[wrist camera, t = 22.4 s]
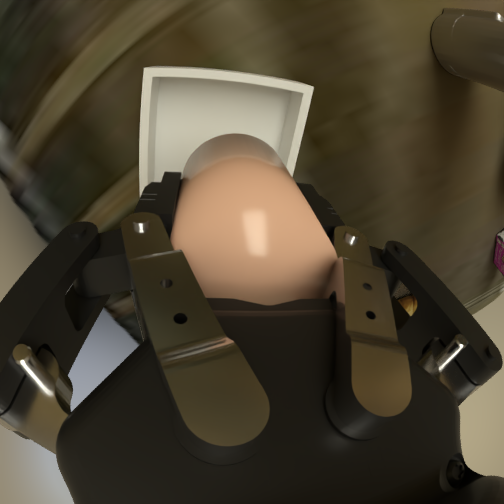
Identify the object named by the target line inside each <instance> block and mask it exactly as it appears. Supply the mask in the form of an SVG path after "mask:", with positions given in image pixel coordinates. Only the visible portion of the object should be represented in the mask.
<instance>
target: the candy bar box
mask: <svg viewBox="0 0 504 504" xmlns="http://www.w3.org/2000/svg"><path fill="white" fill-rule="evenodd" d="M493 263H494V264H495V265H496V267H497V268H498V269H499V270H500V272H501V273H502V274H503V275H504V229H503V230H502V231H500V232H499V233H498V234H497V236H496V247H495V255H494V262H493Z"/></svg>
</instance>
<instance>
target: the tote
mask: <svg viewBox="0 0 504 504" xmlns="http://www.w3.org/2000/svg"><path fill="white" fill-rule="evenodd" d="M313 89H314V87H313V86H310V85H307V84H304V83H301V82H297V81H292V80H288V79H283V78H277V77H272V76H266V75H260V74H254V73H247V72H239V71H231V70H222V69H211V68H197V67H174V66H154V67H147V68H144V75H143V86H142V99H141V116H140V146H139V180H140V197H141V195H142V192H143V190H144V187H145V186H147V185H148V184H150V183H151V182H161V180H162V177H163V175H164V172H165V171H167V172H181V173H183V169H184V166H185V164H186V162H187V160H188V158H189V157H190V155H191V154H192V153H193V152H194V151H195V150H196V149H197V148H198V147H199V146H200V145H201V144H203V143H204V142H206V141H208V140H210V139H212V138H214V137H217V136H220V135H224V134H232V133H239V134H247V135H251V136H254V137H256V138H259V139H261V140H263V141H264V142H266V143H267V144H268V145H269V146H271V147H272V148H273V149H274V150H275V152H276V153H277V154H278V156H279V157H280V159H281V160H282V162H283V163H284V165H285V167H286V168H287V170H288V171H289V173H290V174H291V176H293V172H294V168H295V164H296V160H297V156H298V152H299V147H300V143H301V139H302V135H303V131H304V127H305V123H306V118H307V114H308V110H309V106H310V101H311V97H312V93H313Z"/></svg>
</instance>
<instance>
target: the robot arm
mask: <svg viewBox="0 0 504 504" xmlns="http://www.w3.org/2000/svg"><path fill="white" fill-rule="evenodd" d="M431 40H432V46H433V49H434V53H435V55H436V57H437V59H438V61H439V62H440V64H441V65H442V66H443V68H444V69H445V70H447V71H448V72H449V73H451V74H453V75H456V76H459V77H461V78H465V79H469V80H472V81H475V82H478V83H481V84H484V85H486V86H489V87H492V88H494V89H497V90H499V91H502V92H504V18H503V17H502V16H501V15H500V14H499V13H497V12H491V11H482V10H471V9H454V8H444V11H443V14H442V15H440V16H439V17H437V18H436V20H435V21H434V23H433V26H432V31H431ZM181 177H182V173H181V172H167V171H165V172H164V175H163V177H162V180H161V182H151V183H150V184H148V185H147V186H145V187H144V190H143V192H142V195H141V197H140V200H139V202H138V204H137V206H136V209H135V211H134V214H131V215H129V216H127V217H125V218H124V219H123V220H122V222H121V228H120V229H117V230H114V231H109V232H104V233H98V228H97V226H96V225H95V224H93V223H91V222H76V223H73V224H71V225H69V226H67V227H65V228H64V229H63V230H62V231H61V232H60V233H59V234H58V235H57V236H56V237H55V238H54V239H53V240H52V241H51V242H50V244H49V245H48V246H47V247H46V248H45V249H44V250H43V251H42V252H41V253H40V254H39V256H38V257H37V258H36V259H35V260H34V261H33V262H32V264H31V265H30V266H29V267H28V268H27V270H26V271H25V272H24V273H23V274H22V276H21V277H20V278H19V279H18V281H17V282H16V283H15V284H14V285H13V287H12V288H11V289H10V291H9V292H8V293H7V294H6V296H5V297H4V298H3V300H2V301H1V302H0V424H1V425H2V426H4V427H5V428H7V429H9V430H12V431H13V432H15V433H16V434H18V435H19V436H21V437H23V438H25V439H31V440H33V441H34V442H36V443H38V444H39V445H41V446H42V447H44V448H46V449H47V450H49V451H51V452H53V453H54V454H56V458H57V463H58V467H59V469H60V472H61V474H62V476H63V478H64V481H65V482H66V485H67V487H68V489H69V491H70V494H71V496H72V498H73V501H74V504H504V478H502V477H498V476H483V475H480V474H478V473H476V472H474V471H472V470H471V469H470V468H468V466H467V465H466V464H465V461H464V458H463V455H462V450H461V441H460V412H459V408H458V406H459V405H460V404H461V403H462V402H463V401H464V400H465V399H466V398H467V397H468V396H469V395H471V394H472V393H473V392H474V391H476V390H477V389H478V388H479V387H481V386H482V385H483V384H484V383H485V382H487V381H488V380H489V379H490V378H491V377H492V376H494V375H495V374H496V373H497V372H498V371H499V370H500V369H501V368H502V356H501V354H500V352H499V350H498V348H497V347H496V345H495V344H494V343H493V341H492V340H491V339H490V337H489V336H488V335H487V334H486V332H485V331H484V330H483V329H482V328H481V326H480V325H479V324H478V322H477V321H476V320H475V319H474V318H473V316H472V315H471V314H470V313H469V312H468V310H467V309H466V308H465V307H464V306H463V305H462V303H461V302H460V301H459V300H458V299H457V298H456V297H455V295H454V294H453V293H452V292H451V291H450V290H449V289H448V288H447V287H446V286H445V284H444V283H443V282H442V281H441V280H440V279H439V278H438V277H437V276H436V275H435V274H434V273H433V272H432V271H431V270H430V269H429V268H428V267H427V266H426V265H425V263H424V262H423V261H422V260H421V259H420V258H419V257H418V256H417V255H416V254H415V253H413V252H412V251H411V250H410V249H409V248H408V247H407V246H405V245H404V244H402V243H400V242H397V241H388V242H387V243H386V245H385V247H384V249H383V250H381V249H378V248H375V247H371V246H369V244H368V240H367V238H366V237H365V236H364V235H363V234H362V233H361V232H360V231H358V230H356V229H354V228H351V227H348V226H345V225H344V223H343V222H342V220H341V219H340V217H339V216H338V215H337V213H336V211H335V210H334V209H333V207H332V206H331V204H330V203H329V202H328V201H327V200H326V199H324V198H323V197H322V196H319V194H318V193H317V192H316V190H315V189H314V187H313V186H312V185H311V184H304V183H296V184H297V186H298V187H299V189H300V191H301V192H302V194H303V195H304V197H305V199H306V200H307V202H308V204H309V205H310V207H311V209H312V210H313V212H314V214H315V215H316V217H317V219H318V221H319V222H320V224H321V226H322V228H323V229H324V231H325V233H326V235H327V236H328V238H329V240H330V242H331V243H332V245H333V247H334V249H335V251H336V254H337V257H338V260H335V263H334V265H333V267H332V270H331V272H330V277H329V281H328V284H327V286H326V288H325V291H324V293H323V295H322V297H321V299H298V300H293V301H289V302H285V303H280V304H276V305H262V304H258V303H253V302H248V301H243V300H238V299H234V298H206V297H205V295H204V293H203V291H202V289H201V287H200V285H199V283H198V281H197V279H196V277H195V275H194V273H193V271H192V269H191V267H190V265H189V263H188V261H187V259H186V257H185V255H184V253H183V251H182V250H181V249H178V250H174V248H173V246H172V243H171V241H170V236H171V232H172V227H173V221H174V216H175V210H176V205H177V199H178V194H179V189H180V184H181ZM72 283H73V285H72ZM402 283H403V284H404V285H405V286H406V287H407V288H408V290H409V291H410V292H411V293H412V294H413V295H414V296H415V298H416V300H417V308H416V310H415V312H414V313H413V314H412V316H410V315H409V314H408V312H407V311H406V310H405V309H404V307H403V306H402V305H401V304H400V303H399V301H398V300H397V299H396V298H395V297H394V295H395V293H396V292H397V290H398V288H399V287H400V285H401V284H402ZM71 285H72V287H71V288H70V286H71ZM69 288H70V290H69V291H68V292H67V290H68V289H69ZM127 290H130V291H131V295H132V299H133V303H134V307H135V310H136V314H137V318H138V321H139V325H140V329H141V333H142V337H143V340H144V342H142V343H141V344H140V345H139V346H138V347H137V348H136V349H135V350H134V351H133V352H132V353H131V354H130V355H129V356H128V357H127V358H126V359H125V360H124V361H123V362H122V363H121V364H120V365H119V366H118V367H117V368H116V369H115V370H114V371H113V372H112V373H111V374H110V375H109V376H108V377H107V378H105V379H104V381H102V383H101V384H99V385H98V386H97V387H96V388H95V389H94V390H93V391H92V392H91V393H90V394H89V395H88V396H87V397H86V398H85V399H84V400H83V401H82V402H81V403H80V404H79V405H78V406H77V407H76V408H75V409H74V410H73V411H72V412H71V409H70V402H71V398H72V394H73V386H72V382H71V380H70V378H69V377H68V374H69V372H70V369H71V367H72V365H73V363H74V361H75V359H76V357H77V355H78V353H79V351H80V349H81V348H82V345H83V344H84V342H85V340H86V338H87V336H88V334H89V332H90V331H91V329H92V327H93V325H94V323H95V322H96V320H97V318H98V316H99V314H100V313H101V311H102V309H103V307H104V306H105V304H106V302H107V301H108V299H109V297H110V294H112V293H117V292H122V291H127ZM66 292H67V294H66Z"/></svg>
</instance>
